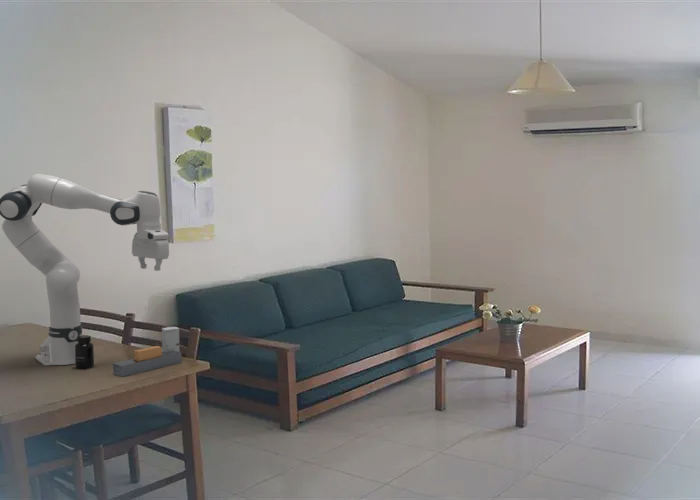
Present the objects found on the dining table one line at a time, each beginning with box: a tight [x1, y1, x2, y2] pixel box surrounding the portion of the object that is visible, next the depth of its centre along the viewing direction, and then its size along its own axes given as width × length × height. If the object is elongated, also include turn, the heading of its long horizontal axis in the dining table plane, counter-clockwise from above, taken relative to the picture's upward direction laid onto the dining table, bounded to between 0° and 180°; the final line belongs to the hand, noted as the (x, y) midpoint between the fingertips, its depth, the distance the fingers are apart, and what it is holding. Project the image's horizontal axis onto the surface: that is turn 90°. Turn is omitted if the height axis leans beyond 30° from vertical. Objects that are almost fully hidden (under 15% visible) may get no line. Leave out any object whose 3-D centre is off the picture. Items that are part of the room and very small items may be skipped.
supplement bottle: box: [74, 334, 95, 370], centre depth 274 cm, size 7×7×12 cm
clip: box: [133, 345, 162, 362], centre depth 272 cm, size 3×10×7 cm, turn 138°
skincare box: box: [161, 326, 180, 352], centre depth 287 cm, size 6×4×12 cm
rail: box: [112, 350, 183, 378], centre depth 272 cm, size 6×26×4 cm, turn 138°
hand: (150, 269), depth 275 cm, fingers open, 8 cm apart
